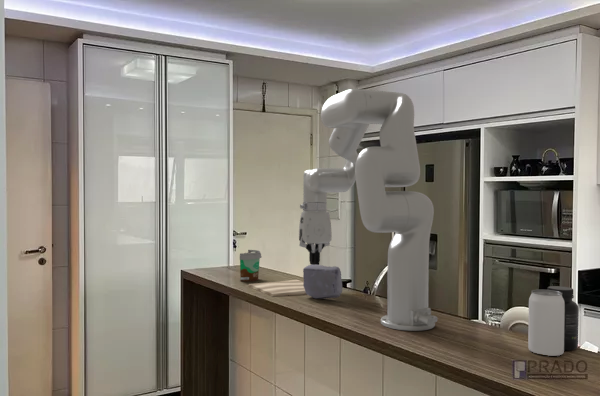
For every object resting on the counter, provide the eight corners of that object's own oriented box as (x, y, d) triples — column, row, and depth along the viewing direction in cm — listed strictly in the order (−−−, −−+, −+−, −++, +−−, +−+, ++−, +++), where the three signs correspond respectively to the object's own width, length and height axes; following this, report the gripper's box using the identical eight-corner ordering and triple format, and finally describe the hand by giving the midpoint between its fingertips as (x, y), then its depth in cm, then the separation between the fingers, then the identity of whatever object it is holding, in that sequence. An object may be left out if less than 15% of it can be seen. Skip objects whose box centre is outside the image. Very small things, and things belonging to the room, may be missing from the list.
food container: (256, 283, 181) (257, 254, 181) (239, 282, 182) (239, 253, 182) (264, 277, 193) (265, 249, 193) (248, 276, 194) (248, 249, 194)
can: (568, 351, 106) (568, 292, 106) (558, 359, 101) (559, 296, 101) (534, 345, 110) (535, 287, 110) (523, 352, 106) (524, 292, 105)
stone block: (301, 298, 156) (301, 264, 156) (310, 296, 160) (310, 262, 160) (335, 304, 149) (335, 268, 149) (344, 301, 153) (344, 266, 153)
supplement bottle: (575, 342, 112) (576, 286, 112) (580, 352, 106) (581, 292, 106) (540, 339, 115) (541, 284, 115) (542, 348, 108) (543, 289, 108)
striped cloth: (324, 292, 165) (324, 288, 165) (272, 297, 157) (272, 293, 157) (297, 283, 181) (297, 279, 181) (248, 287, 173) (248, 284, 173)
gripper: (300, 208, 164) (300, 267, 165) (340, 207, 172) (340, 264, 172) (289, 207, 171) (288, 264, 171) (328, 207, 178) (328, 261, 178)
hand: (314, 264), depth 172 cm, fingers closed
